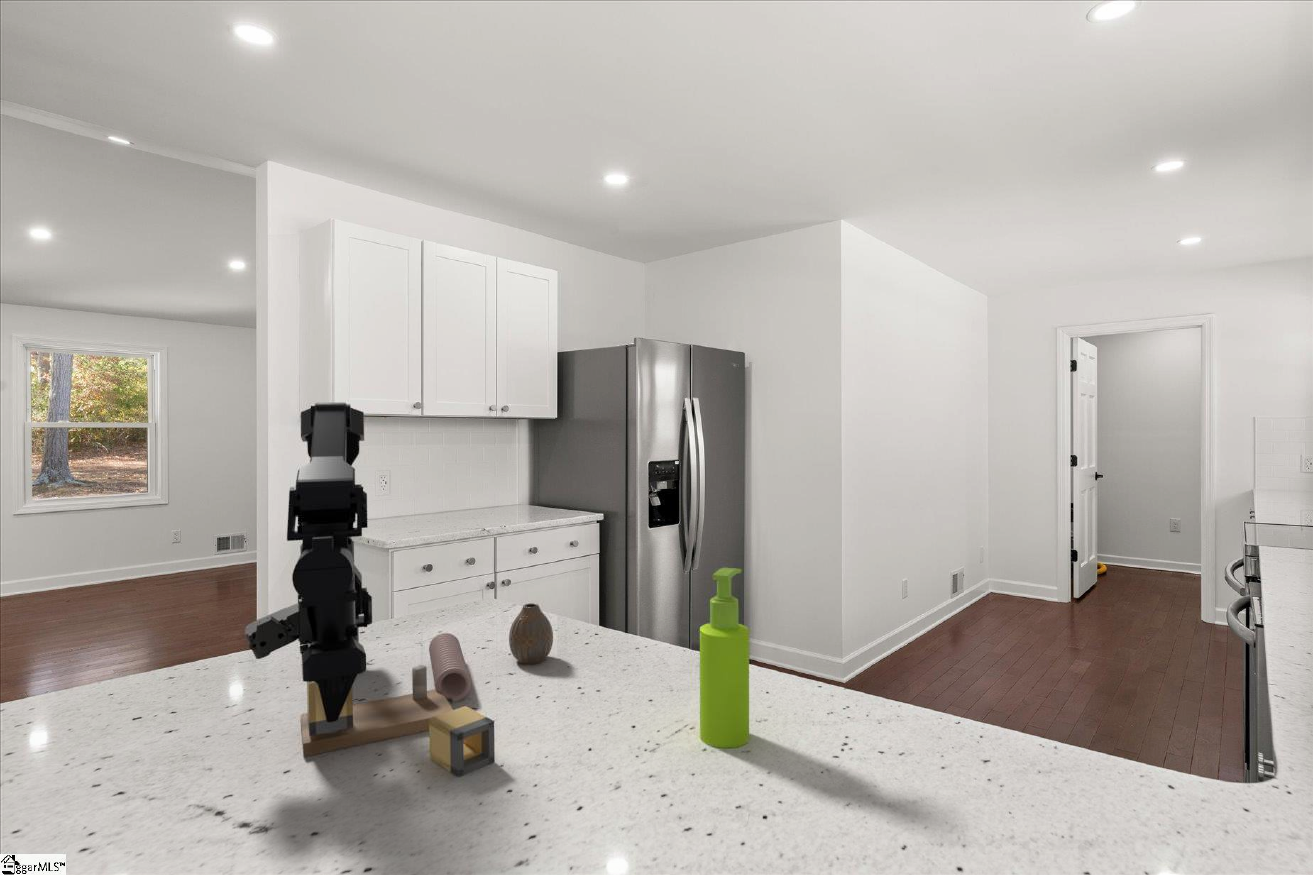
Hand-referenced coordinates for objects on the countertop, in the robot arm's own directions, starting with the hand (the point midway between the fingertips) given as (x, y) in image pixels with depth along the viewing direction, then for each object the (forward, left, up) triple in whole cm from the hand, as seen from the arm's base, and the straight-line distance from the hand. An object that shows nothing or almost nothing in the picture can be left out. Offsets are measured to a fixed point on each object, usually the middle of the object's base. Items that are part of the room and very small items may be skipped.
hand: (330, 713), depth 83 cm
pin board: (-2, +5, -4) cm, 7 cm away
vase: (-16, +30, -4) cm, 34 cm away
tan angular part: (+15, +13, -1) cm, 20 cm away
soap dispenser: (+21, +42, -4) cm, 47 cm away
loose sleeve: (0, 0, -1) cm, 1 cm away
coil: (-14, +17, -4) cm, 22 cm away
